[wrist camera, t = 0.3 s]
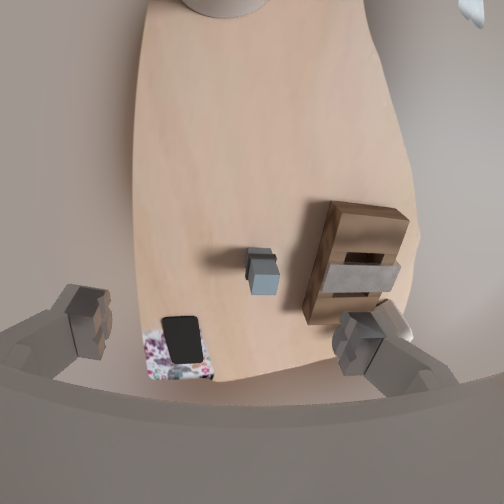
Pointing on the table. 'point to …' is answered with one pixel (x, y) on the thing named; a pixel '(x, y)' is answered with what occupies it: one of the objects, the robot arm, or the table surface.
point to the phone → (183, 339)
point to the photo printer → (395, 319)
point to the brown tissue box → (352, 240)
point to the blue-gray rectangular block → (262, 271)
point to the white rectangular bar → (359, 277)
